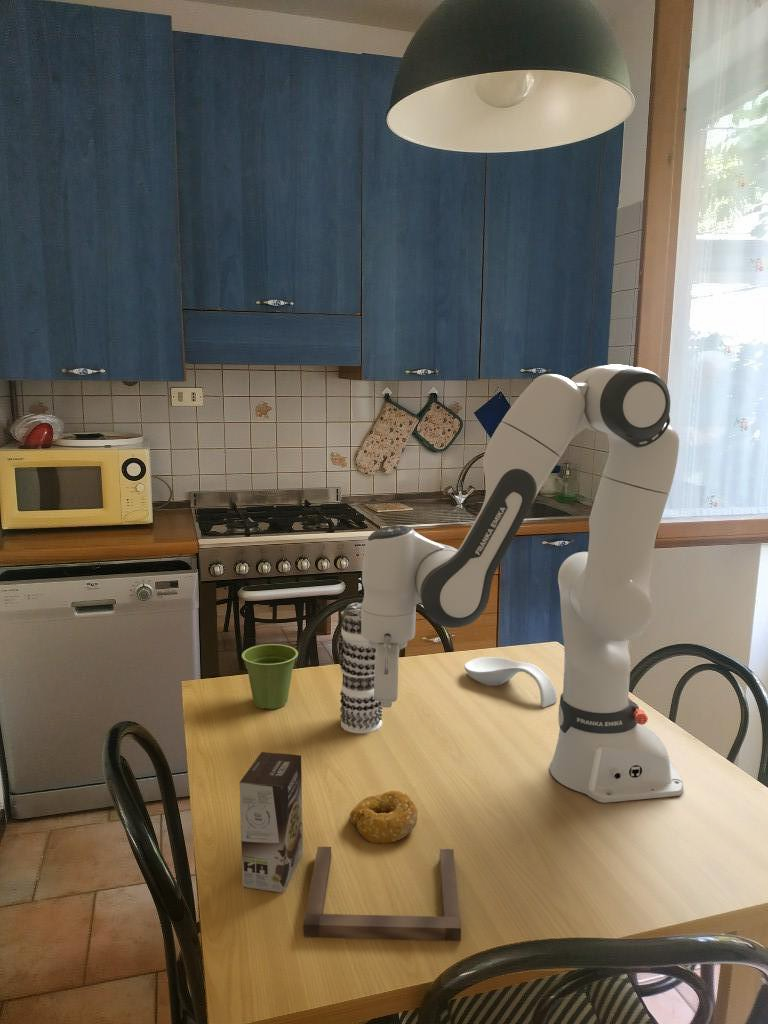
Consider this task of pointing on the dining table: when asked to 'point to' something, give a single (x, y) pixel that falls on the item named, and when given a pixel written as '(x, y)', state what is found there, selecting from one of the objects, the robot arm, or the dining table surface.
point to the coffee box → (271, 821)
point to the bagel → (385, 817)
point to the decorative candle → (357, 676)
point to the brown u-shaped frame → (382, 924)
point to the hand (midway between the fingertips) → (386, 703)
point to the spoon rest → (510, 675)
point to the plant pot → (270, 673)
